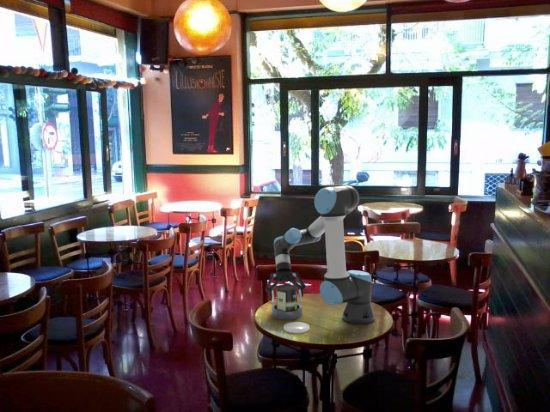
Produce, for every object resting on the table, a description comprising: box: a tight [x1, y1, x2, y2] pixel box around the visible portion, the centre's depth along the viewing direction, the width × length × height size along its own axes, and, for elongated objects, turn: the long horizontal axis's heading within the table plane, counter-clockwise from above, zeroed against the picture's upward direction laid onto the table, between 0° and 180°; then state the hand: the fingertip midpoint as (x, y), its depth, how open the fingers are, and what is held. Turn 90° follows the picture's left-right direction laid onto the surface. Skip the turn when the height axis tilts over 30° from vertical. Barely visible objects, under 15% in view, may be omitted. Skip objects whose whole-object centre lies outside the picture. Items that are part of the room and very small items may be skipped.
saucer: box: [283, 321, 311, 335], centre depth 243 cm, size 12×12×1 cm
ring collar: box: [271, 302, 303, 321], centre depth 261 cm, size 14×14×4 cm
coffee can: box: [275, 283, 298, 311], centre depth 260 cm, size 10×10×14 cm
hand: (287, 302), depth 258 cm, fingers open, 13 cm apart
